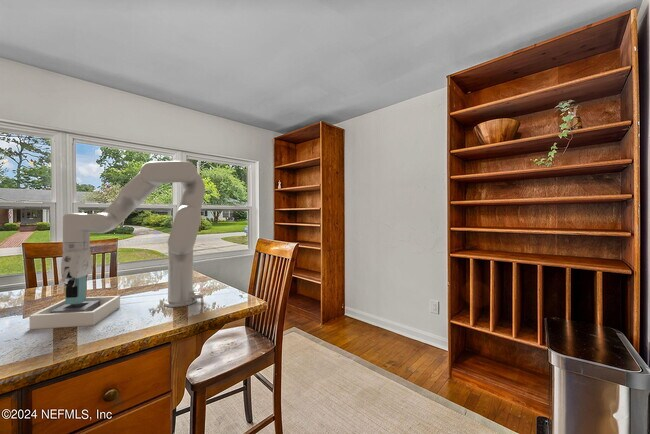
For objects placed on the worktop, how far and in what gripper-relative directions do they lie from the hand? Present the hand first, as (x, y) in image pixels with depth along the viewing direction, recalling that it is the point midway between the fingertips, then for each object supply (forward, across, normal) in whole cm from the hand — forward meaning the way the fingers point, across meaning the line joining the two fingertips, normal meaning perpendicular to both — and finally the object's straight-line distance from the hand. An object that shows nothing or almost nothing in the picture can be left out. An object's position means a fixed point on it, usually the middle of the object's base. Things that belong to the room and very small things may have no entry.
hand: (76, 294), depth 101 cm
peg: (+3, 0, 0) cm, 3 cm away
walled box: (+8, -2, -2) cm, 8 cm away
